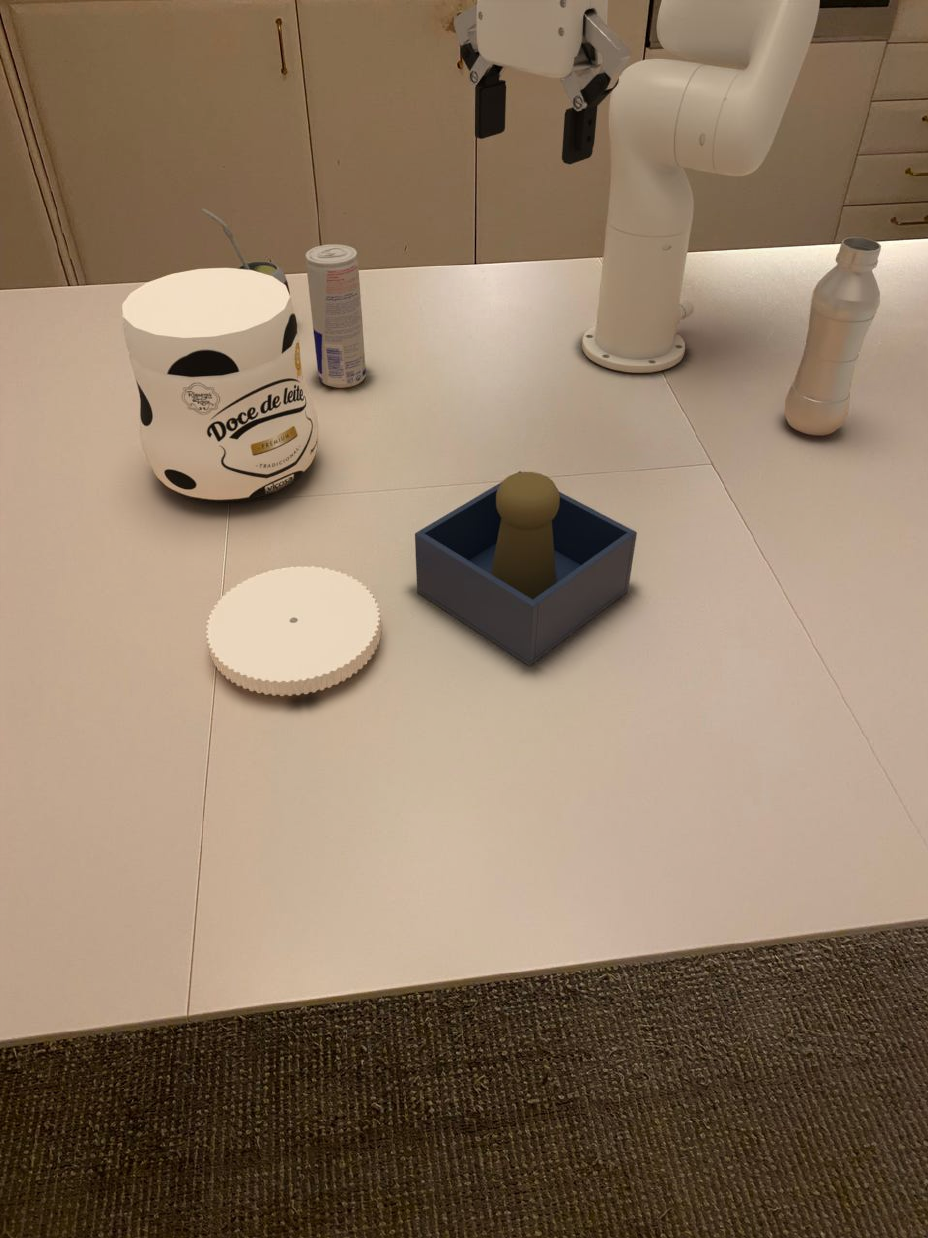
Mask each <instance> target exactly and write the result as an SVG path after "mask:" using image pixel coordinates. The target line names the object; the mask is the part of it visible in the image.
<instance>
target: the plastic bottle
mask: <svg viewBox="0 0 928 1238" xmlns="http://www.w3.org/2000/svg"><path fill="white" fill-rule="evenodd" d="M881 250H882V245H881V244H880V243H879V242H878V241H876V240H873V239H871V238H868V237H867V238H866V237H859V236H851V237H846V238H844V239H843V240H842V241H841V243H840V246H839V250H838V253H837V254H836V257H835V262H836V265H835V266H834V267H833V268H832V269H830V270H829V271H828V272H826V274H824V275H823V277H822V278H821V279H820V280H818V281H817V283H816V285H815V287H814V288H813V290H812V294H811V300H810V309H809V319H808V329H807V334H806V338H805V344H804V349H803V353H802V356H801V360H800V363H799V366H798V368H797V371H796V375H795V378H794V380H793V382H792V383H791V385H790V386H789V390H788V391H787V394H786V397H785V400H784V411H783V413H784V417H785V419H786V421H787V423H788V425H789V426H790V427H791V428H793V429H795V430H796V431H798V432H799V433H802V434H806V435H810V436H820V437H821V436H827V435H831V434H834V433H835V432H836V431H837V430H838V429H840V428H841V427H842V425H843V424H844V422H845V420H846V418H847V416H848V414H849V407H850V403H851V402H850V401H851V388H852V383H853V377H854V372H855V368H856V364H857V360H858V358H859V353H860V352H861V349H862V346H863V344H864V341H865V338H866V336H867V334H868V332H869V329H870V327H871V325H872V323H873V322H874V321H873V320H874V319H875V316H876V314H877V313H878V310H879V307H880V305H881V291H880V289H879V285H878V281H877V279H876V277H875V274H874V273H873V272H874V271H873V270H874V269H875V268H876V267H877V266H878V263H879V257H880V253H881Z"/></svg>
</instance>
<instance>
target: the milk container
mask: <svg viewBox="0 0 928 1238" xmlns="http://www.w3.org/2000/svg"><path fill="white" fill-rule="evenodd" d="M121 315H122V326H123V332H124V339H125V344H126V348H127V351H128V357H129V361H130V365H131V368H132V372H133V375H134V379H135V382H136V386H137V389H138V394H139V400H140V402H139V403H140V405H139V406H140V407H139V436H140V443H141V446H142V449H143V452H144V455H145V458H146V460H147V462H148V464H149V466H150V468H151V469H152V472H153V473H154V475H155V476H156V477H157V478H158V480H159V481H160V482H161V483H162V484H163V485H165V487H167V488H168V489H169V490H171V491H173V492H175V493H177V494H179V495H181V496H184V497H186V498H190V499H193V500H199V501H207V502H213V503H229V502H246V501H249V500H253V499H256V498H260V497H265V496H268V495H272V494H274V493H276V492H277V491H280V490H282V489H283V488H285V487H287V486H289V485H291V484H293V483H294V482H296V481H297V480H298V479H299V478H301V477H302V475H304V473H305V472H307V470H308V469H309V468H310V467H311V465H312V463H313V460H314V459H315V456H316V454H317V450H318V449H317V448H318V441H319V420H318V414H317V413H318V412H317V408H316V406H315V404H314V401H313V398H312V396H311V394H310V391H309V389H308V387H307V384H306V381H305V379H304V378H305V377H304V374H303V368H302V367H303V366H302V358H301V357H302V356H301V346H300V345H301V344H300V337H299V333H298V324H297V316H296V313H295V309H294V304H293V301H292V298H291V294H290V295H289V293H288V290H287V287H286V285H284V284H283V283H282V282H280V281H279V280H277V279H276V278H274V277H273V276H270V275H266V274H263V273H260V272H256V271H253V270H245V269H238V268H233V267H211V268H209V267H208V268H197V269H191V270H185V271H181V272H180V271H179V272H175V273H170V274H167V275H165V276H162V277H159V278H156V279H152V280H150V281H148V282H146V283H145V284H143V285H141V286H139V287H138V288H136V289H135V290H133V291H131V292H130V293H129V294H128V296H127V297H126V299H125V300H124V301H123V303H122V304H121Z"/></svg>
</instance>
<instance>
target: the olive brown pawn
mask: <svg viewBox="0 0 928 1238" xmlns="http://www.w3.org/2000/svg"><path fill="white" fill-rule="evenodd" d="M502 481H503V482H502ZM502 481H501V482H502V483H501V482H500V483H501V484H500V486H499V488H498V490H497V493H496V507H497V511H498V513H499V515H500V517H501V524H500V529H499V534H498V539H497V544H496V549H495V554H494V560H493V565H492V570H491V575H493V576H495V577H496V578H498V579H500V580H501V581H503V582H505V583H506V584H508V585H509V586H511V587H513V588H514V589H516V590H518V591H519V592H521V593H523V594H524V595H526V596H527V597H529V598H531V599H532V600H533V599H534V598H536V597H537V596H539V595H540V594H541V593H543V592H544V591H546V590H547V589H548V588H550V587H551V586H553V585H554V584H556V583H557V581H556V568H555V556H554V543H553V531H552V520H553V519H554V517H555V516H556V514H557V511H558V509H559V504H560V496H559V492H560V491H559V489H558V487H557V485H556V484H555V482H554V481H553V479H552V478H550V477H548V476H547V475H545V474H542V473H540V472H534V471H521V472H520V473H517V472H515V473H513V474H510V475H508V476H507V477H506V478H504V479H503V480H502Z"/></svg>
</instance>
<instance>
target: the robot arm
mask: <svg viewBox="0 0 928 1238" xmlns="http://www.w3.org/2000/svg"><path fill="white" fill-rule="evenodd" d="M820 1H821V0H661V2H660V5H659V10H658V13H657V19H656V37H657V40H658V41H659V44H660V46H661V47H662V48H663V49H664V50H665V51H666V52H667V53H669V54H671V55H673V56H676V57H679V58H681V59H686V60H691V61H686V60H685V61H684V60H678V59H671V58H647V59H643V60H639V61H637V62H634V63H632V64H630V65H629V66H628V67H626V66H627V65H628V63H629V61H630V58H631V55H632V51H631V48H630V47H629V46H628V45H627V43H625V41H624V40H622V38H620V36H619V35H618V34H616V32H614V30H613V29H611V27H610V26H609V25H608V12H609V11H608V10H609V9H608V8H609V0H476V3H475V4H473V5H472V6H470V7H468V8H467V9H465V10H464V11H462V12H461V13H459V14H458V15H456V16H455V17H454V19H453V28H454V31H455V33H456V38H457V40H458V44H459V45H460V46H461V47H460V50H459V51H460V57H461V58H462V60H463V62H464V64H465V66H466V68H467V70H468V71H469V72H468V81H469V83H470V84H471V85H472V86H474V137H475V139H476V138H477V139H480V140H483V139H486V138H490V137H493V136H496V135H499V134H502V133H504V132H505V130H506V110H507V109H506V108H507V83H506V80H504V79H501V76H502V75H503V73H504V72H505V70H506V69H511V70H516V71H520V72H524V73H529V74H533V75H537V76H541V77H545V78H551V79H559V81H560V82H561V84H562V86H563V87H562V88H563V89H564V92H565V94H566V95H567V98H568V100H569V102H570V104H571V106H572V107H570V108H566V109H565V112H564V117H563V119H564V120H563V131H562V132H563V134H562V148H561V160H562V162H563V163H564V164H566V165H568V166H569V165H573V164H576V163H578V162H582V161H584V160H588V159H589V158H591V157H592V155H593V152H594V146H595V142H596V141H595V140H596V127H597V116H598V106H601V105H602V104H604V103H605V102H606V98H607V97H608V96H609V95H610V96H609V103H608V113H607V114H608V136H609V147H610V149H609V151H610V180H609V181H610V184H609V186H610V187H609V194H608V195H609V196H608V207H607V217H606V226H605V237H604V246H603V255H602V265H601V276H600V286H599V295H598V307H597V315H596V324H595V325H593V326H591V327H590V328H588V329H587V330H586V331H585V332H584V333H583V335H582V340H581V350H582V352H583V353H584V355H585V357H587V358H588V359H589V360H590V361H592V362H593V363H595V364H597V365H599V366H601V367H603V368H607V369H609V370H613V371H618V372H623V373H630V374H631V373H632V374H646V373H647V374H648V373H655V372H656V373H657V372H660V371H665V370H668V369H670V368H672V367H674V366H676V365H677V364H679V363H680V362H681V361H682V360H683V358H684V355H685V352H686V343H685V340H684V339H683V338H682V336H681V335H680V334H679V333H678V332H677V329H678V325H679V324H680V323H681V321H682V320H684V319H686V318H688V317H690V316H693V313H694V310H695V307H694V305H693V303H692V301H689V300H684V301H681V302H680V300H681V296H682V295H681V294H682V289H683V281H684V276H685V269H686V263H687V257H688V251H689V245H690V238H691V232H692V226H693V220H694V215H695V201H694V200H695V199H694V194H693V189H692V187H691V183H690V181H689V178H688V175H687V174H686V171H685V169H689V170H694V171H700V172H703V173H704V172H705V173H710V174H716V175H722V176H728V177H744V176H749V175H750V174H752V173H754V172H755V171H757V170H758V169H759V168H760V167H761V165H762V164H763V162H764V161H765V159H766V157H767V156H768V154H769V152H770V150H771V148H772V146H773V143H774V141H775V139H776V136H777V133H778V130H779V128H780V125H781V123H782V120H783V117H784V115H785V111H786V109H787V106H788V104H789V101H790V98H791V96H792V94H793V91H794V88H795V86H796V82H797V81H798V77H799V76H800V72H801V69H802V66H803V64H804V61H805V59H806V56H807V54H808V51H809V48H810V45H811V43H812V40H813V36H814V32H815V29H816V25H817V22H818V17H819V11H820V4H821V3H820ZM692 61H694V62H692ZM701 62H703V63H701ZM706 63H708V64H706ZM709 64H715V65H721V66H715V65H709ZM722 65H723V66H722ZM725 66H729V67H725ZM730 66H731V67H738V68H739V69H738V68H731V67H730ZM599 68H600V70H599V72H598V73H597V71H596V69H599ZM740 68H744V69H740Z"/></svg>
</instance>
